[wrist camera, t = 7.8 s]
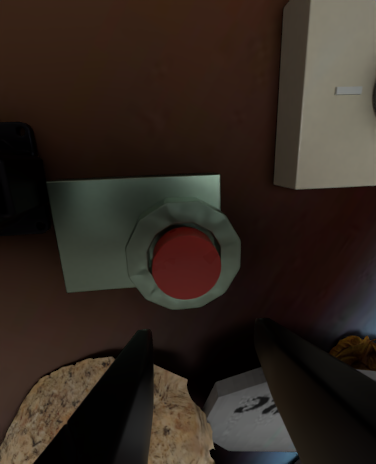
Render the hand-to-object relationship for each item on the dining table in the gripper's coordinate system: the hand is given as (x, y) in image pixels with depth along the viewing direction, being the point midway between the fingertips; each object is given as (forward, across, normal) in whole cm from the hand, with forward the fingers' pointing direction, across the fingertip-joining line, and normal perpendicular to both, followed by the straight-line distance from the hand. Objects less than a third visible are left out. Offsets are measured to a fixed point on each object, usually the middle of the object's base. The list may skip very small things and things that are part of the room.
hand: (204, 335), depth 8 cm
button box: (+10, +2, -1) cm, 10 cm away
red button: (+7, 0, 0) cm, 7 cm away
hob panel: (+10, -12, -8) cm, 18 cm away
